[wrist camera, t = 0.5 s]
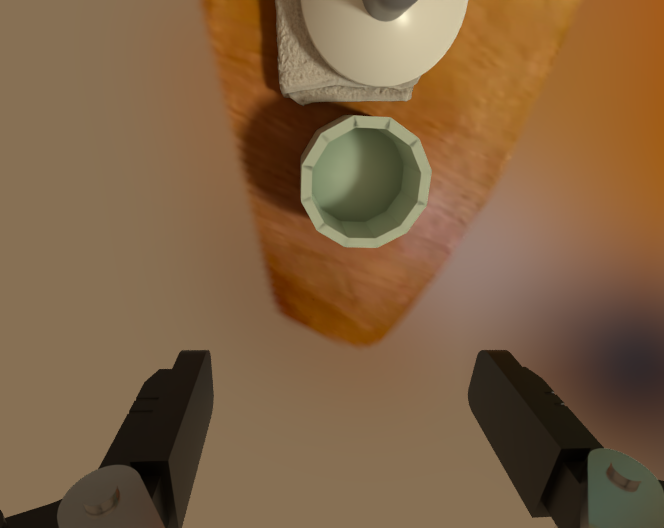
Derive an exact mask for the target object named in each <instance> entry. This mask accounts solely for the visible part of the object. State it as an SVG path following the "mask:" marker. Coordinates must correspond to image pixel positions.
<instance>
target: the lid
mask: <svg viewBox="0 0 664 528" xmlns="http://www.w3.org/2000/svg"><path fill="white" fill-rule="evenodd" d="M467 3H468V0H301V7H302V14H303V18H304V22H305V26H306V29H307V31H308V34H309V36H310V39H311V41H312V43H313V44H314V46H315V48H316V50H317V51H318V53H319V54H320V56H321V57H322V58H323V59H324V61H325V62H326V63H327V64H328V65H329V66H330V67H331V68H332V69H333V70H335V71H336V72H337V73H338V74H340V75H341V76H343V77H344V78H346V79H348V80H350V81H352V82H355V83H357V84H361V85H364V86H370V87H389V86H395V85H399V84H402V83H405V82H408V81H411V80H413V79H415V78H417V77H419V76H420V75H422V74H424V73H425V72H427V71H428V70H429V69H430V68H432V67H433V66H434V65H435V64H436V63H437V62H438V61H439V60H440V59H441V58H442V57H443V56H444V54H445V53H446V52H447V50H448V49H449V48H450V46H451V45H452V43H453V41H454V40H455V38H456V36H457V34H458V32H459V29H460V27H461V25H462V22H463V19H464V16H465V13H466V8H467Z"/></svg>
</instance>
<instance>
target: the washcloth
mask: <svg viewBox="0 0 664 528" xmlns="http://www.w3.org/2000/svg"><path fill="white" fill-rule="evenodd" d="M275 5H276V14H277V16H276V19H277V21H276V28H277V47H278V58H277V59H278V71H279V84H280V90H281V93H282V94H283V97H286V98H292V99H293V100H294V101H295V102H297V103H298V104H300V105H302V106H304V104H309V103H311V102H329V101H331V102H334V101H335V102H339V101H340V102H346V101H351V102H353V101H356V102H357V101H407V100H410V99H411V96H412V95H411V93H412V91H413V86H414V85H415V84H416V83H417V82H418V80H419V78H420V76H421V75H420V76H419V77H417V78H415V79H413V80H411V81H408V82H405V83H402V84H399V85H395V86H389V87H370V86H364V85H361V84H357V83H355V82H352V81H350V80H348V79H346V78H344V77H343V76H341V75H340V74H338V73H337V72H336V71H335V70H333V69H332V68H331V67H330V66H329V65H328V64H327V63H326V62H325V61H324V59H323V58H322V57H321V56H320V54H319V53H318V51H317V50H316V48H315V46H314V44H313V43H312V41H311V39H310V36H309V34H308V31H307V29H306V26H305V22H304V18H303V14H302V7H301V0H275Z"/></svg>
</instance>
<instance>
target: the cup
mask: <svg viewBox="0 0 664 528" xmlns="http://www.w3.org/2000/svg"><path fill="white" fill-rule="evenodd" d="M431 173H432V170H431V168H430V165H429V163H428V160H427V157H426V155H425V152H424V150H423V147H422V145H421V142H420V139H419V138H418V137H416V136H415V135H414V134H412V133H411V132H410V131H408V130H407V129H406V128H404V127H403V126H402V125H400V124H399V123H397V122H396V121H395V120H393V119H392V118H391V117H374V116H356V115H343V116H341V117H339V118H337V119H335V120H334V121H332V122H330V123H328V124H326V125H324V126H323V127H321V128H319V129H317V130H316V132H315V133H314V135H313V137H312V138H311V140H310V142H309V143H308V145H307V147H306V148H305V150H304V152H303V153H302V155H301V159H300V196H301V202H302V204H303V206H304V208H305V210H306V211H307V213H308V215H309V217H310V219H311V220H312V222H313V224H314V226H315V228H316V229H317V231H319V232H320V233H322V234H324V235H325V236H327V237H329V238H330V239H332V240H334V241H336V242H337V243H339V244H341V245H342V246H344V247H367V248H378V247H380V246H382V245H383V244H385V243H387V242H389V241H391V240H393V239H395V238H397V237H399V236H401V235H403V234H405V233H407V232H408V230H409V229H410V228H411V226H412V225H413V223H414V222H415V221H416V219H417V218H418V217H419V215H420V214H421V212H422V211H423V210H424V208H425V207H426V206H427V200H428V193H429V187H430V180H431Z"/></svg>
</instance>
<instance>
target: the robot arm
mask: <svg viewBox="0 0 664 528" xmlns="http://www.w3.org/2000/svg"><path fill="white" fill-rule="evenodd" d="M213 397H214V395H213V380H212V368H211V356H210V352H209V350H191V351H189V350H184V351H183V350H182V351H181V352H180V353H179V355H178V357H177V359H176V362H175V364H174V366H173V368H172V369H159V370H158V371H157V372H156V373H155V374H153V375H152V376H151V377H150V378H149V379H148V380H147V381H146V382H144V384H143V386H142V388H141V390H140V392H139V394H138V396H137V397H136V401H134V403H133V405H132V407H131V409H130V411H129V414H127V416H126V418H125V420H124V422H123V424H122V426H121V428H120V429H119V431H118V433H117V435H116V437H115V439H114V441H113V443H112V444H111V446H110V448H109V450H108V452H107V454H106V456H105V458H104V460H103V461H102V463H101V465H100V467H99V468H98V470H95V471H93V472H91V473H89V474H88V475H86V476H84V477H83V478H82V479H80V480H79V481H78V482H76V483H75V485H73V486H72V487H71V488H70V489H69V490H68V492H67V493H66V494H65V496H64V497H63V499H61V500H59V501H57V502H54V503H51V504H48V505H45V506H42V507H39V508H36V509H32V510H29V511H26V512H23V513H20V514H17V515H13V516H10V517H7V518H4V516H3V513H2V512H1V510H0V528H182V525H183V521H184V517H185V514H186V510H187V506H188V502H189V498H190V495H191V491H192V487H193V483H194V479H195V476H196V472H197V468H198V464H199V460H200V457H201V453H202V449H203V445H204V442H205V438H206V434H207V430H208V427H209V423H210V419H211V415H212V409H213ZM468 401H469V405H470V408H471V410H472V412H473V414H474V416H475V418H476V419H477V421H478V423H479V425H480V427H481V428H482V430H483V432H484V434H485V435H486V437H487V439H488V441H489V442H490V444H491V446H492V448H493V450H494V451H495V453H496V455H497V456H498V458H499V460H500V462H501V463H502V465H503V467H504V469H505V470H506V472H507V474H508V476H509V478H510V479H511V481H512V483H513V485H514V486H515V488H516V490H517V492H518V493H519V495H520V497H521V499H522V500H523V502H524V504H525V506H526V508H527V509H528V511H529V513H530V514H531V516H532V518H533V517H552V519H553V520H554V522H555V524H556V526H555V528H664V481H661V480H657V478H656V477H655V476H654V475H653V474H652V473H651V472H650V471H649V470H648V469H647V468H646V467H645V466H643V465H642V464H641V463H639V462H638V461H636V460H635V459H633V458H631V457H630V456H628V455H626V454H623V453H621V452H618V451H616V450H611V449H606V448H604V447H603V446H602V445H601V444H600V443H599V442H598V441H597V439H595V437H594V436H593V435H592V434H591V433H590V432H589V431H588V430H587V428H586V427H585V426H584V425H583V424H582V423H581V422H580V421H579V419H578V418H577V417H576V416H575V415H574V414H573V412H572V411H571V410H570V409H569V408H568V407H567V406H565V405H564V402H563V401H562V400H561V399H560V398H559V397H558V396H557V395H555V394H554V391H553V390H552V389H551V388H550V387H549V386H548V384H547V383H546V382H545V381H544V380H543V379H542V378H541V377H539V376H538V375H536V374H535V373H534V372H532V371H531V370H529V369H528V368H526V367H522V366H521V365H520V364H519V362H518V361H517V360H516V359H515V358H514V357H513V355H512V354H511V353H510V352H509V351H507V350H482V351H480V352H479V353H478V355H477V359H476V363H475V367H474V370H473V375H472V378H471V382H470V386H469V390H468Z"/></svg>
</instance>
